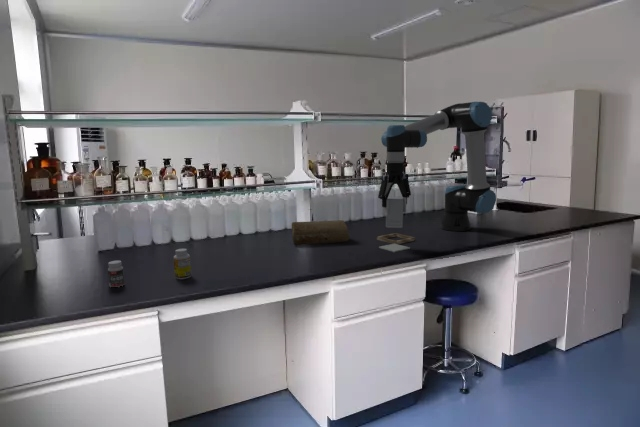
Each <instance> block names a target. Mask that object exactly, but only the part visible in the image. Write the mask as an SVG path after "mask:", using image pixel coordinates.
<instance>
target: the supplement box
mask: <svg viewBox="0 0 640 427" xmlns="http://www.w3.org/2000/svg"><path fill="white" fill-rule="evenodd" d="M387 200H389V214H388V215H385V228H389V229H390V228H391V229H393V228H394V229H403V226H404V225H403V224H404V212H403V197H402V196H388V198H387Z"/></svg>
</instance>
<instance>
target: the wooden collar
mask: <svg viewBox="0 0 640 427" xmlns="http://www.w3.org/2000/svg"><path fill="white" fill-rule="evenodd" d="M395 237H396V238H401V239H399V240H398V239H397V240H395V239H390V238H395ZM376 240H377V241H380V242H385V243H389V244H398V245H401V244H404V243H409V242H414V241H416V237H415V236H411V235H405V234H402V233H396V232H395V233H389V234H384V235H383V234H382V235H380V236H376Z"/></svg>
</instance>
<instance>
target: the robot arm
mask: <svg viewBox="0 0 640 427" xmlns="http://www.w3.org/2000/svg"><path fill="white" fill-rule="evenodd" d="M492 119H493V112H492V109H491V107H490V105H488V103H486V102H485V101H471V102H469V101H468V102H463V103H461V102H460V103H456V104H452V105H449V106H447V107H445V108H442V109H440V110H438V111H436V112H434V114H433V115H430V116H428V117H425V118H422V119H420V120H418V121H414V122H413V123H410V124H407V125H404V124H396V125H395V124H393V125H391V124H390V125H388V126H387V129H386V131H384V132H383V133H382V135H381V138H380V140H381V144H382V146H384V147H385V148H386V171H387V174H385V175H381V182H380V188H379V191H378V197H377V198H378V199H380V200H381V206H382V207H381V208H382V215H384V216H386V215H388V214H389V200H387V198H388V197H390V193H391V191H392V188H393V187H394V186H395V185H396V186H397V187H398V189H399V191H400V195H401V197H403V213H407V205H408V198H410V196H411V195H412V192H411V186H410V181H409V174H408V173H404V172H405V160H406V159H405V158H406V157H405V154H406V153H405V150H406V148H407V149H409V148H411V149H412V148H416V149H418V148H422V147H424V146H425V145H427V142H428V134H429V135H430V134H431V133H434V132H436V131H439V130H441V131H444V130H447V129H453V128H454V129H455V128H456V129H458V128H459V129H461V130H460V131H461V133H462V135H464V138H465V139H464V140H465V153H466V154H465V156H466V171H467V184H462V185H459V184H458V185H450V186H447V187H446V188H445V191H444V215H443V217H442V219H441V223H440V229H442V230H445V231H450V232H451V231H452V232H465V231H470V230H471V228H472V226H471V221H470V218H469V215H468V212H472V213H477V214H487V213H489V212H491V211H492V210H493V208H494V207H495V205H496V203H497V195H496V192H495V191H493V190H492V189H491V184H490V183H488V181H487V166H486V165H487V164H486V148H485V133H486V131H487V130H488V126H489V125H490V124H491V123H492Z"/></svg>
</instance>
